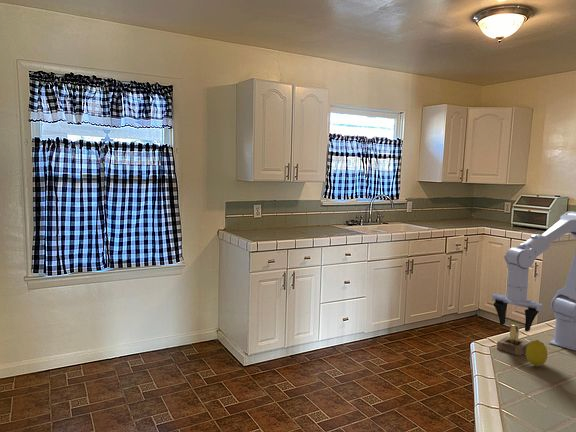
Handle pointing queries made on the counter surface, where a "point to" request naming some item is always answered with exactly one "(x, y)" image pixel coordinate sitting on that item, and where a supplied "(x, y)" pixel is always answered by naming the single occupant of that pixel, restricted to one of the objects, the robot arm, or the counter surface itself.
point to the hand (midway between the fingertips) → (514, 327)
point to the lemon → (536, 353)
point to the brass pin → (514, 334)
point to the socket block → (512, 346)
